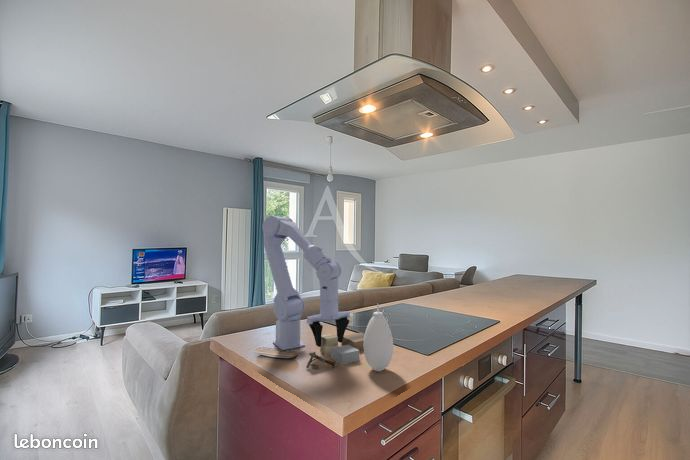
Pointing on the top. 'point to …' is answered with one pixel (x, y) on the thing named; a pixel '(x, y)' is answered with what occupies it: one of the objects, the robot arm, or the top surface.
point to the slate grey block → (345, 354)
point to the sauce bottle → (378, 342)
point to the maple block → (328, 343)
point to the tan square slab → (354, 340)
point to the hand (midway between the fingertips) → (329, 343)
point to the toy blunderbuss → (313, 355)
